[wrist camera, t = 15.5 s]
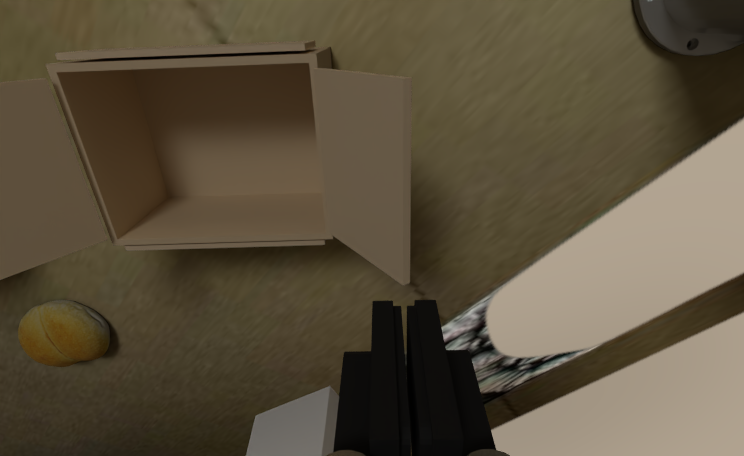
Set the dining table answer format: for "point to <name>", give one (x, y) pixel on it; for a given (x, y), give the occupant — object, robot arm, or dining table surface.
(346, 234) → the flap
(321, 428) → the milk
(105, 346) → the bread roll
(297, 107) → the carton
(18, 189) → the flap
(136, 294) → the dining table surface
